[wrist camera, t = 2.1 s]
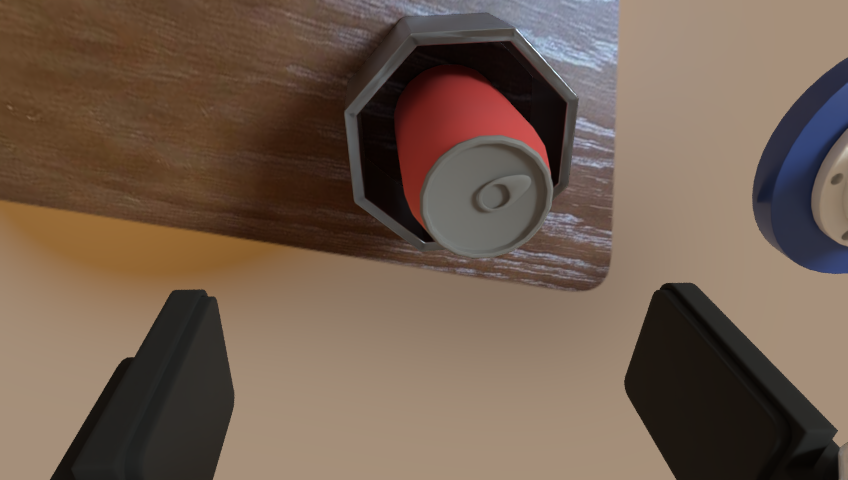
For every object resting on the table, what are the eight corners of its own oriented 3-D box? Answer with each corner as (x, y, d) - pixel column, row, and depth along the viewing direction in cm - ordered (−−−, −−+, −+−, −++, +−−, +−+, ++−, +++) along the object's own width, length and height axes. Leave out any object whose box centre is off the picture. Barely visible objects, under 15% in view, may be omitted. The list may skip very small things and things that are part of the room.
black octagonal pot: (547, 9, 29) (588, 23, 23) (532, 196, 34) (562, 240, 29) (340, 19, 28) (335, 36, 23) (361, 209, 34) (360, 257, 28)
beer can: (515, 137, 32) (586, 228, 22) (423, 185, 33) (449, 292, 23) (473, 40, 29) (533, 91, 19) (373, 95, 30) (376, 174, 20)
